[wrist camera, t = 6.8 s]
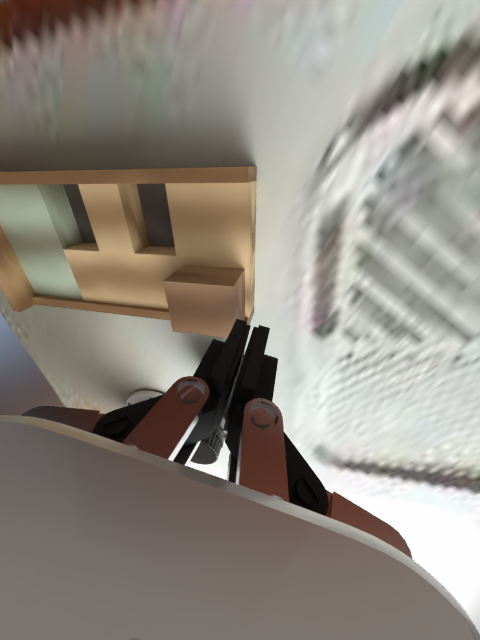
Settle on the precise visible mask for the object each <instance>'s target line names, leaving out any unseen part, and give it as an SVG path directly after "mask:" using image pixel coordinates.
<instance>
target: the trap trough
mask: <svg viewBox="0 0 480 640" xmlns="http://www.w3.org/2000/svg"><path fill="white" fill-rule="evenodd" d="M255 224H256V167H204V168H158V169H113V170H67V171H21V172H0V288H1V290H2V291H3V293H4V295H5V296H6V298H7V300H8V302H9V303H10V305H11V307H12V308H13V310H14V311H19V312H21V311H23V310H25V309H27V308H29V307H31V306H33V305H35V304H37V305H46V306H54V307H62V308H71V309H79V310H88V311H96V312H104V313H113V314H121V315H130V316H138V317H146V318H155V319H163V320H171V319H170V314H169V309H168V304H167V299H166V294H165V289H164V284H163V280H165V279H166V278H167V277H169V276H170V275H171V274H173V273H174V272H175V271H176V270H178V269H179V268H180V267H182V266H183V265H191V266H207V267H224V268H240V269H245V318H244V320H243V321H247V325H249V324H250V322H251V319H252V316H253V313H254V281H255Z"/></svg>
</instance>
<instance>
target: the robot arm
mask: <svg viewBox="0 0 480 640" xmlns="http://www.w3.org/2000/svg"><path fill="white" fill-rule="evenodd" d="M249 330H250V325H247V321H243V320H240V319H236V321H235V323H234V325H233V327H232V329H231V332H230V334H229V336H228V338H227V340H226V342H222V341H218V340H215V339H214V340H213V341H212V343H211V345H210V346H209V348H208V350H207V352H206V354H205V355H204V357H203V359H202V361H201V363H200V365H199V366H198V368H197V370H196V372H195V374H194V375H193V376H187V377H183V378H180V379H178V380H177V381H176V382H175V383H174V384H173V385H172V386H171V387H170V388H169V389H168V391H167V392H166V393H165V394H162V393H159V392H155V391H148V390H144V391H138V392H135V393H133V394H132V395H131V396H130V397H129V398H128V399H127V401H126V403H125V407H123V408H120V409H117V410H114V411H111V412H109V413H107V414H101V413H100V411H97V410H87V409H77V408H67V407H57V406H38V407H35V408H32V409H30V410H28V411H26V412H24V413H23V414H22V415H21V416H6V415H4V416H0V640H480V634H479V632H478V631H477V629H476V627H475V625H474V624H473V622H472V621H471V619H470V618H469V616H468V615H467V613H466V612H465V610H464V609H463V608H462V607H461V605H460V604H459V603H458V602H457V600H456V599H455V598H454V597H453V596H452V595H451V594H450V593H449V592H448V591H447V589H446V588H445V587H443V585H441V584H440V583H439V582H438V581H437V580H436V579H435V578H434V577H433V576H432V575H431V574H429V573H428V572H427V571H426V570H425V569H424V568H422V567H421V566H420V565H419V564H418V563H416V562H415V561H414V560H412V556H411V552H410V549H409V548H408V546H407V544H406V542H405V540H404V539H403V538H402V536H401V535H400V534H399V532H398V531H396V530H395V529H394V528H393V527H391V526H390V525H389V524H387V523H385V522H384V521H382V520H380V519H379V518H377V517H376V516H373V515H372V514H370V513H369V512H367V511H366V510H364V509H362V508H361V507H359V506H357V505H356V504H354V503H352V502H351V501H349V500H347V499H346V498H344V497H342V496H341V495H339V494H337V493H336V492H333V493H330V492H329V491H327V490H325V488H324V486H323V484H322V483H321V481H320V480H319V478H318V477H317V476H316V474H315V473H314V472H313V470H312V469H311V468H310V466H309V465H308V464H307V462H306V461H305V459H304V458H303V457H302V455H301V454H300V453H299V451H298V450H297V449H296V447H295V446H294V445H293V443H292V442H291V441H290V439H289V438H288V437H287V435H286V434H285V433H284V430H283V418H282V414H281V411H280V410H279V408H278V407H277V406H276V405H275V404H274V403H273V402H272V399H273V391H274V384H275V377H276V370H277V363H278V358H274V357H271V356H268V355H265V354H264V352H265V347H266V343H267V339H268V334H269V330H270V328H267V327H264V326H260V325H259V327H258V328H257V327H254V328H253V331H252V334H251V337H250V340H249V343H248V347H247V350H246V353H245V356H244V359H243V362H242V365H241V368H240V364H241V360H242V357H243V353H244V349H245V345H246V342H247V338H248V334H249ZM239 368H240V371H239ZM238 371H239V374H238ZM237 374H238V377H237ZM236 377H237V380H236ZM235 380H236V383H235ZM234 383H235V387H234V390H233V394H232V398H231V402H230V405H229V409H228V413H227V417H226V420H225V424H224V428H223V430H224V431H227V436H226V439H225V443H226V445H227V446H228V448H229V450H230V455H229V464H228V473H227V480H224V479H221V478H219V477H216V476H213V475H210V474H207V473H205V472H202V471H199V470H196V469H193V468H190V467H188V464H189V462H190V460H191V459H192V457H193V455H194V453H195V452H196V450H197V448H198V446H199V444H200V441H201V440H203V439H205V438H207V437H210V435H212V433H213V431H214V428H218V429H219V428H220V425H221V422H222V419H223V416H224V413H225V410H226V407H227V404H228V401H229V398H230V395H231V392H232V389H233V386H234Z"/></svg>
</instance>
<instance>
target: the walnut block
mask: <svg viewBox="0 0 480 640" xmlns="http://www.w3.org/2000/svg"><path fill="white" fill-rule="evenodd" d="M163 284H164V289H165V294H166V299H167V304H168V309H169V314H170V319H171V324H172V329H173V331H175V332H183V333H191V334H199V335H207V336H215V337H223V338H228V336H229V334H230V332H231V329H232V327H233V325H234V323H235V321H236V319H240V320H244V318H245V269H240V268H224V267H207V266H191V265H183V266H182V267H180V268H179V269H178V270H176V271H175V272H174V273H173V274H171V275H170V276H169V277H167V278H166V279H165V280H163Z"/></svg>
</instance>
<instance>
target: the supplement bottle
mask: <svg viewBox="0 0 480 640" xmlns="http://www.w3.org/2000/svg"><path fill="white" fill-rule="evenodd" d="M243 359H244V357H242V360H241V364H240V368H241V365H242V362H243ZM240 368H239V371H240ZM239 371H238V374H239ZM238 374H237V377H238ZM237 377H236V380H237ZM236 380H235V383H236ZM235 383H234V386H233V389H232V392H231V395H230V398H229V401H228V404H227V407H226V410H225V413H224V416H223V419H222V422H221V425H220V428H219V429H218V428H214V431H213V433H212V435H210V437H207V438H205V439H203V440H201V441H200V444H199V446H198V448H197V450H196V452H195V453H194V455H193V457H192V459H191V460H190V461H191V462H194V463H198V464H206V465H207V464H211V463H214V462H215V461H216V460H217V459H218V456H219V453H220V449H221V448H222V446H223V443H224V440H225V439H226V436H227V431H224V430H223V428H224V424H225V420H226V417H227V413H228V409H229V405H230V402H231V398H232V394H233V390H234V387H235Z"/></svg>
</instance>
